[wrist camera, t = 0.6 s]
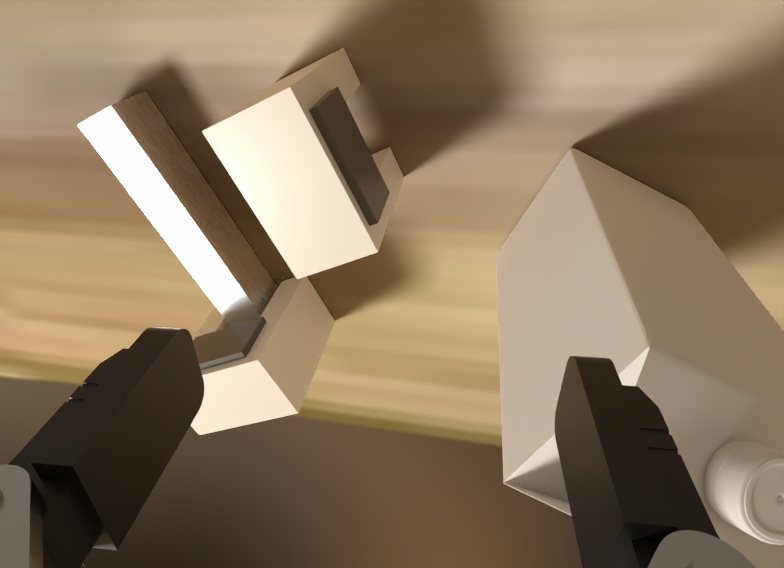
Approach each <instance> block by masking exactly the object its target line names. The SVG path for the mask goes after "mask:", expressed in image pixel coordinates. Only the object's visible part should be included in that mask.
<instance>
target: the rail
mask: <svg viewBox="0 0 784 568" xmlns="http://www.w3.org/2000/svg"><path fill="white" fill-rule="evenodd" d="M78 127H79V128H80V129H81V131H82V132H83V133H84V134H85V136H86V137H87V138H88V140H89V141H90V142H91V144H92V145H93V146H94V148H95V149H96V150H97V152H98V153H99V154H100V155H101V157H102V158H103V159H104V161H105V162H106V163H107V165H108V166H109V167H110V169H111V170H112V171H113V173H114V174H115V175H116V176H117V178H118V179H119V180H120V182H121V183H122V184H123V186H124V187H125V188H126V190H127V191H128V192H129V194H130V195H131V196H132V197H133V199H134V200H135V201H136V203H137V204H138V205H139V207H140V208H141V209H142V211H143V212H144V213H145V215H146V216H147V217H148V218H149V220H150V221H151V222H152V224H153V225H154V226H155V228H156V229H157V230H158V232H159V233H160V234H161V236H162V237H163V238H164V239H165V241H166V242H167V243H168V245H169V246H170V247H171V249H172V250H173V251H174V253H175V254H176V255H177V257H178V258H179V259H180V260H181V262H182V263H183V264H184V266H185V267H186V268H187V270H188V271H189V272H190V274H191V275H192V276H193V278H194V279H195V280H196V281H197V283H198V284H199V285H200V287H201V288H202V289H203V291H204V292H205V293H206V295H207V296H208V297H209V299H210V300H211V301H212V302H213V304H214V305H215V306H216V308H217V309H218V310H219V312H220V313H221V314H222V316H223V317H224V318H225V320H226V321H227V322H228V323H229V325H230V326H233V325H236V324H240V323H243V322H246V321H249V320H252V319H256V318H259V317H261V315H262V313H263V312H264V310H265V308H266V307H267V305H268V303H269V302H270V300H271V298H272V297H273V295H274V293H275V292H276V290H277V288H278V287H277V285H276V284H275V282H274V281H273V279H272V278H271V276H270V275H269V273H268V272H267V270H266V269H265V267H264V266H263V264H262V263H261V261H260V260H259V258H258V257H257V256H256V254H255V253H254V251H253V250H252V248H251V247H250V245H249V244H248V242H247V241H246V239H245V238H244V236H243V235H242V233H241V232H240V230H239V229H238V227H237V226H236V224H235V223H234V221H233V220H232V218H231V217H230V215H229V214H228V212H227V211H226V209H225V208H224V206H223V205H222V203H221V202H220V200H219V199H218V197H217V196H216V194H215V193H214V192H213V190H212V189H211V187H210V186H209V184H208V183H207V181H206V180H205V178H204V177H203V175H202V174H201V172H200V171H199V169H198V168H197V166H196V165H195V163H194V162H193V160H192V159H191V157H190V156H189V154H188V153H187V151H186V150H185V148H184V147H183V145H182V144H181V142H180V141H179V139H178V138H177V136H176V135H175V133H174V132H173V130H172V129H171V128H170V126H169V125H168V123H167V122H166V120H165V119H164V117H163V116H162V114H161V113H160V111H159V110H158V108H157V107H156V105H155V104H154V102H153V101H152V99H151V98H150V96H149V95H148V93H147V92H146V90H145V91H143V92H141V93H138V94H136V95H134V96H131V97H129V98H127V99H125V100H122V101H120V102H118V103H115V104H113V105H111V106H109V107H107V108H106V109H104V110H102V111H100V112H99V113H97V114H95V115H93V116H92V117H90V118H88V119H86V120H85V121H83V122H81V123H80V124H78Z"/></svg>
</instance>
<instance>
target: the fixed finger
mask: <svg viewBox="0 0 784 568" xmlns="http://www.w3.org/2000/svg"><path fill="white" fill-rule="evenodd" d="M334 322H335V320H334V319H333V317H332V316H331V314H330V312H329V311H328V309H327V308H326V306H325V305H324V303H323V301H322V300H321V298H320V297H319V295H318V293H317V292H316V290H315V289H314V287H313V285H312V284H311V282H310V281H309V279H308V278H307V276H306V277H303V278H300V279H296V277H293V278H290V279H287V280H284V281H282V282H281V283H280V285H279V287H278V288H277V290H276V292H275V293H274V295H273V297H272V298H271V300H270V302H269V303H268V305H267V307H266V308H265V310H264V312H263V313H262V315H261V317H259V318H256V319H252V320H249V321H246V322H243V323H240V324H236V325H233V326H230V325H229V323H228V322H227V321H226V320H225V318H224V317H223V316H222V314H221V313H220V312H219V310H218V309H217V308H215V309H214V310H213V312H212V313H211V314H210V316H209V317H208V318H207V320H206V321H205V322H204V324H203V325H202V326H201V328H200V329H199V330H198V332H197V333H196V335H195V336H194V337H193V339H192V340H193V344H194V347H195V351H196V355H197V358H198V362H199V366H200V369H201V373H202V377H203V380H204V397H203V401H202V405H201V407H200V409H199V411H198V413H197V415H196V416H195V418H194V420H193V422H192V423H191V426H192V428H193V429H194V430H195V431H196V432H197V433H198V434H199V435H202V434H207V433H211V432H216V431H220V430H225V429H229V428H234V427H238V426H243V425H247V424H252V423H256V422H261V421H266V420H270V419H275V418H279V417H284V416H288V415H293V414H297V413H299V410H300V408H301V405H302V403H303V400H304V398H305V395H306V393H307V390H308V388H309V385H310V383H311V380H312V378H313V375H314V373H315V370H316V368H317V365H318V363H319V360H320V358H321V355H322V353H323V350H324V347H325V345H326V342H327V340H328V337H329V335H330V332H331V330H332V327H333V325H334Z"/></svg>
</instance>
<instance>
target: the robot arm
mask: <svg viewBox="0 0 784 568" xmlns="http://www.w3.org/2000/svg"><path fill="white" fill-rule="evenodd" d="M203 397H204V380H203V377H202V373H201V369H200V366H199V362H198V358H197V355H196V351H195V347H194V344H193V340H192V337H191V334H190V333H189V331H188V330H186V329H178V328H163V327H149V328H147V329H146V330H145V331H144V332H143V333H142V334H141V335H140V336H139V338H138V339H137V340H136V341H135V342H134V343H133V345H132V346H131V347H130V348H129V349H122V350H120V351H119V352H117V353H116V354H114V355H113V356H111V357H110V358H108V359H107V360H105V361H103V362H102V363H100V364H99V365H98V366H97V367H96V369H95V370H94V371H93V372H92V373H91V374H90V375H89V376H88V377H87V378H86V380H85V381H84V382H83V386H79V387H78V389H77V390H76V391H75V392H74V393H73V394H72V395H71V396H70V397H69V401H68V402H65V403H64V404H63V405H62V406H61V407H60V408H59V410H57V412H56V413H55V414H54V415H53V416H52V417H51V418H50V419H49V420H48V422H47V423H46V424H45V425H44V426H43V427H42V428H41V429H40V430H39V432H38V433H37V434H36V435H35V436H34V437H33V438H32V439H31V440H30V441H29V443H28V444H27V445H26V446H25V447H24V448H23V449H22V450H21V452H19V454H18V455H17V456H16V457H15V458H14V459H13V460H12V461H11V462H10V463H9V464H8V465H0V568H85V567H84V565H83V562H84V560H85V558H86V557H87V555H88V554H89V552H90V551H91V549H92V548H100V549H109V550H118V548H119V546H120V545H121V543H122V541H123V539H124V538H125V536H126V534H127V533H128V531H129V529H130V528H131V526H132V524H133V522H134V521H135V519H136V517H137V515H138V514H139V512H140V510H141V509H142V507H143V505H144V503H145V502H146V500H147V498H148V497H149V495H150V493H151V492H152V490H153V488H154V487H155V485H156V483H157V481H158V480H159V478H160V476H161V474H162V473H163V471H164V469H165V468H166V466H167V464H168V463H169V461H170V459H171V457H172V456H173V454H174V452H175V450H176V449H177V447H178V446H179V444H180V442H181V440H182V439H183V437H184V435H185V434H186V431H187V430H188V428H189V427H190V425H191V423H192V422H193V420H194V418H195V416H196V415H197V413H198V411H199V409H200V407H201V405H202V401H203ZM555 439H556V444H557V449H558V454H559V458H560V463H561V468H562V473H563V477H564V482H565V487H566V492H567V497H568V501H569V506H570V511H571V516H572V520H573V525H574V530H575V535H576V539H577V544H578V549H579V554H580V558H581V563H582V567H583V568H755V567H754V565H753V564H752V563H751V562H750V561H749V560H748V559H747V558H746V557H745V556H744V555H743V554H741V553H740V552H739V551H738V550H737V549H735V548H734V547H732V546H731V545H729V544H728V543H726V542H724V541H723V540H721V539H720V538H719V536H718V534H717V532H716V530H715V528H714V526H713V524H712V522H711V520H710V517H709V515H708V513H707V511H706V509H705V507H704V504H703V502H702V500H701V498H700V496H699V494H698V491H697V489H696V487H695V485H694V483H693V481H692V478H691V476H690V474H689V472H688V470H687V468H686V465H685V463H684V461H683V459H682V457H681V455H679V454H678V448H677V446H676V444H675V442H674V439H673V437H672V435H669V429H668V426H667V424H666V422H665V420H664V418H663V416H662V413H661V411H660V409H659V407H658V406H657V405H656V404H655V403H654V402H653V401H652V400H651V399H650V398H649V397H648V396H647V395H646V394H645V393H644V392H643V391H642V390H641V389H640V388H639V387H638V386H625V385H622V383H621V381H620V378H619V376H618V373H617V371H616V368H615V366H614V363H613V362H612V360H611V359H609V358H598V357H583V356H570V357H569V359H568V361H567V364H566V369H565V373H564V377H563V381H562V385H561V390H560V394H559V398H558V402H557V406H556V411H555Z"/></svg>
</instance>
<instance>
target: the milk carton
mask: <svg viewBox="0 0 784 568" xmlns="http://www.w3.org/2000/svg"><path fill="white" fill-rule="evenodd" d="M496 271H497V300H498V329H499V359H500V388H501V417H502V446H503V475H504V482H503V483H504V484H506V485H508V486H510V487H512V488H514V489H516V490H518V491H520V492H523V493H525V494H527V495H529V496H531V497H533V498H535V499H537V500H539V501H541V502H544V503H546V504H548V505H550V506H552V507H554V508H556V509H558V510H560V511H562V512H564V513H566V514H568V515H571V511H570V506H569V501H568V497H567V492H566V487H565V482H564V477H563V473H562V468H561V463H560V458H559V454H558V449H557V444H556V439H555V411H556V406H557V402H558V398H559V394H560V390H561V385H562V381H563V377H564V373H565V369H566V364H567V361H568V359H569V357H570V356H583V357H598V358H609V359H611V360H612V362H613V363H614V366H615V368H616V371H617V373H618V376H619V378H620V381H621V383H622V385H625V386H638V387H639V388H640V389H641V390H642V391H643V392H644V393H645V394H646V395H647V396H648V397H649V398H650V399H651V400H652V401H653V402H654V403H655V404H656V405H657V406H658V407H659V409H660V411H661V413H662V416H663V418H664V420H665V422H666V424H667V426H668V429H669V435H672V437H673V439H674V442H675V444H676V446H677V448H678V454H679V455H681V457H682V459H683V461H684V463H685V465H686V468H687V470H688V472H689V474H690V476H691V478H692V481H693V483H694V485H695V487H696V489H697V491H698V494H699V496H700V498H701V500H702V502H703V504H704V507H705V509H706V511H707V513H708V515H709V517H710V520H711V522H712V524H713V526H714V528H715V530H716V532H717V534H718V536H719V538H720V539H721V540H723V541H724V542H726V543H728V544H729V545H731V546H732V547H734V548H735V549H737V550H738V551H739V552H740V553H741V554H743V555H744V556H745V557H746V558H747V559H748V560H749V561H750V562H751V563H752V564H753V565H754V567H755V568H784V331H783V330H782V329H781V328H780V326H779V325H778V324H777V322H776V321H775V320H774V318H773V317H772V316H771V315H770V313H769V312H768V311H767V309H766V308H765V307H764V305H763V304H762V303H761V301H760V300H759V299H758V298H757V296H756V295H755V294H754V292H753V291H752V290H751V288H750V287H749V286H748V285H747V283H746V282H745V281H744V279H743V278H742V277H741V275H740V274H739V273H738V272H737V270H736V269H735V268H734V266H733V265H732V264H731V262H730V261H729V260H728V258H727V257H726V256H725V255H724V253H723V252H722V251H721V249H720V248H719V247H718V245H717V244H716V243H715V242H714V240H713V239H712V238H711V236H710V235H709V234H708V232H707V231H706V230H705V229H704V227H703V226H702V225H701V223H700V222H699V221H698V219H697V218H696V217H695V215H694V214H693V213H692V212H691V210H690V209H689V208H687V207H686V206H684V205H682V204H681V203H679V202H677V201H675V200H673V199H671V198H669V197H667V196H665V195H664V194H662V193H660V192H658V191H656V190H654V189H652V188H650V187H648V186H646V185H644V184H642V183H641V182H639V181H637V180H635V179H633V178H631V177H629V176H627V175H625V174H623V173H621V172H619V171H618V170H616V169H614V168H612V167H610V166H608V165H606V164H604V163H602V162H600V161H598V160H596V159H595V158H593V157H591V156H589V155H587V154H585V153H583V152H581V151H579V150H577V149H574V148H570V149H569V150H568V152H567V153H566V154H565V156H564V157H563V159H562V160H561V162H560V163H559V164H558V166H557V167H556V169H555V170H554V172H553V173H552V175H551V176H550V177H549V179H548V180H547V182H546V183H545V185H544V186H543V187H542V189H541V190H540V192H539V193H538V195H537V196H536V198H535V199H534V200H533V202H532V203H531V205H530V206H529V208H528V209H527V211H526V212H525V213H524V215H523V216H522V218H521V219H520V221H519V222H518V223H517V225H516V226H515V228H514V229H513V231H512V232H511V234H510V235H509V236H508V238H507V239H506V241H505V242H504V244H503V245H502V247H501V248H500V249H499V251H498V252H497V254H496Z"/></svg>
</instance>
